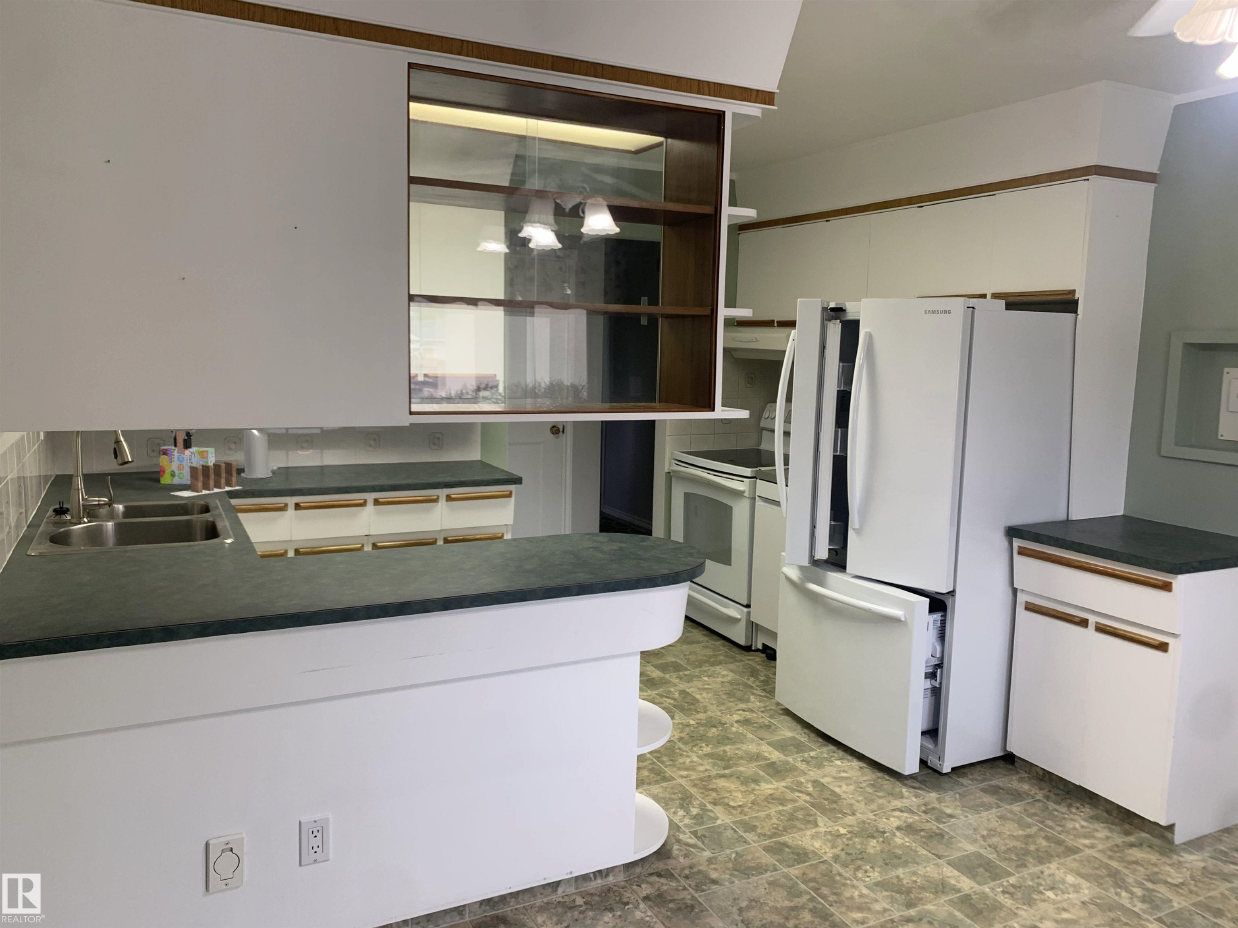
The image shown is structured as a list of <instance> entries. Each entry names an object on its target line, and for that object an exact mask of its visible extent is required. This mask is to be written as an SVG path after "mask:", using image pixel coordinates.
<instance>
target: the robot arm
mask: <svg viewBox="0 0 1238 928" xmlns="http://www.w3.org/2000/svg"><path fill="white" fill-rule="evenodd" d="M242 430H243V429H242ZM170 432H171V434H172V438H173V447H174V448H177V438H176V431H171V430H170ZM186 432H188V433H187V434H186ZM195 432H196V429H195V430H192V431H183V435H184V439H183V449H191V448H192V447H193V444H192V442H193V441H192V439H193V436H194V434H195ZM268 438H269V437H268V433H267V431H266V429H265V430H243V450H244V451H243V455H244V456H243V457H244V461H243V462H244V472H241V473H240V477H242V478H248V479H249V478H250V479H251V478H252V479H264V478H265V479H266V478H270V477H272V476H273V472H272V471H277V470H278V469H279V468H278V465H271V464H269V445H268V444H269V442H268V440H269V439H268Z"/></svg>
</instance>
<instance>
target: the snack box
mask: <svg viewBox="0 0 1238 928" xmlns="http://www.w3.org/2000/svg"><path fill="white" fill-rule="evenodd" d="M158 452H159V455H158V456H159V480H160V481H159V482H160V483H159V484H166V485H168V484H169V485H182V484H183V485H186V484H187V485H190V466H199V467H202V466H201V465H202V464H207V465H213V463H216V455H215V454H216V453H215V452H216V450H215V448H214V447H208V448H207V447H195V446H192V448H191V449H189V454H188V455H183V454H177V448H174V445H173V446H172V445H171V446H170V445H169V446H168V445H166V446H161V447H159V451H158Z"/></svg>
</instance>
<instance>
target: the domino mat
mask: <svg viewBox="0 0 1238 928" xmlns="http://www.w3.org/2000/svg"><path fill="white" fill-rule="evenodd" d="M242 488H243V487H242V486H237V485H236V487H235V488H231V487H226V486H225V489H216V488H214V491H206V490H202V491H203V493H196V492H191V489H189V490H182V491H176V492H169V494H170V495H175V496H180V497H185V498H186V497H193V496H198V495H204V494H205V495H206V494H212V493H217V492H218V493H219V492H223V491H224V492H225V491H230V490H237V489H238V490H239V489H242Z"/></svg>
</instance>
